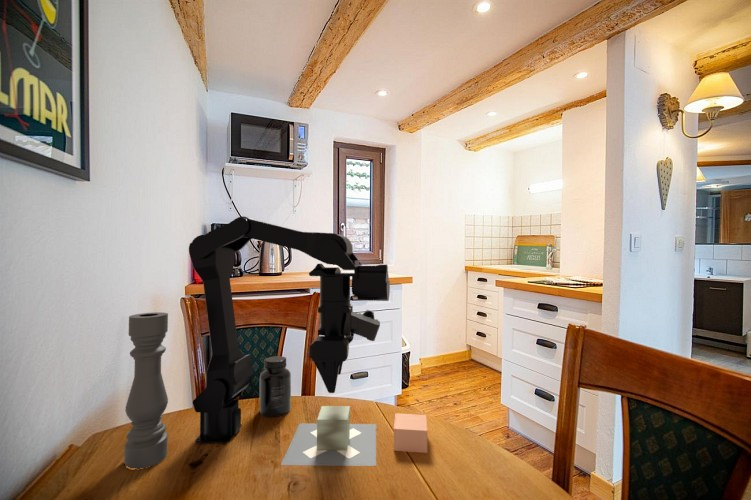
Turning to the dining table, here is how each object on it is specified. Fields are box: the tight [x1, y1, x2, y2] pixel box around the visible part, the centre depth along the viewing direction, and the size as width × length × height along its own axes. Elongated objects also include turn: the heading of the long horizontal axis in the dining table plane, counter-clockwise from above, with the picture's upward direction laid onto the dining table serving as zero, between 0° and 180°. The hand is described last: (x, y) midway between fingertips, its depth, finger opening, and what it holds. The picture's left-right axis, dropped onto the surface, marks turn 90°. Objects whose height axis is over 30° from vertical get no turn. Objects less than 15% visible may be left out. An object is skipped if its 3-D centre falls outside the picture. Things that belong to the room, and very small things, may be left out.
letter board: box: [280, 422, 377, 467], centre depth 63 cm, size 16×14×1 cm
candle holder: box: [123, 311, 169, 469], centre depth 59 cm, size 6×6×25 cm
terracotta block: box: [393, 412, 428, 454], centre depth 63 cm, size 6×6×4 cm
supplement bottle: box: [259, 355, 292, 418], centre depth 76 cm, size 7×7×12 cm
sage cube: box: [316, 405, 351, 451], centre depth 63 cm, size 6×6×6 cm
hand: (334, 382), depth 63 cm, fingers open, 9 cm apart
